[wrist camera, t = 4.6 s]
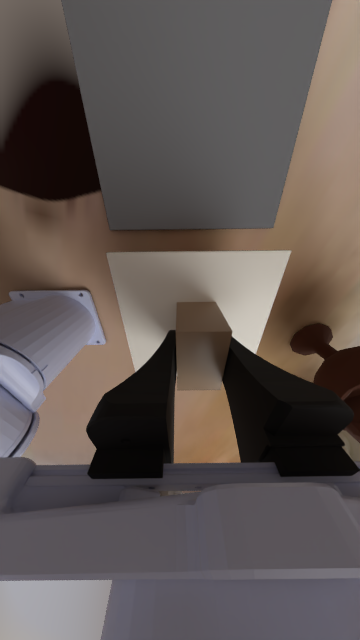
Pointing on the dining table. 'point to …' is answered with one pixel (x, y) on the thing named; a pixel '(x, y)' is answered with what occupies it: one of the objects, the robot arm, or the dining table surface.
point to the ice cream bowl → (333, 368)
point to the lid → (196, 305)
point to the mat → (194, 105)
